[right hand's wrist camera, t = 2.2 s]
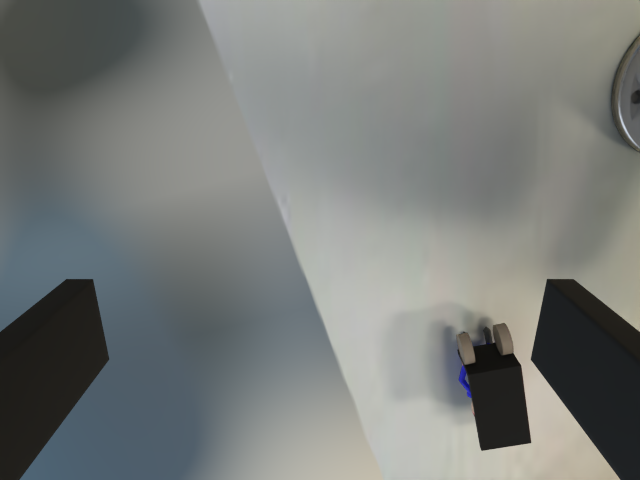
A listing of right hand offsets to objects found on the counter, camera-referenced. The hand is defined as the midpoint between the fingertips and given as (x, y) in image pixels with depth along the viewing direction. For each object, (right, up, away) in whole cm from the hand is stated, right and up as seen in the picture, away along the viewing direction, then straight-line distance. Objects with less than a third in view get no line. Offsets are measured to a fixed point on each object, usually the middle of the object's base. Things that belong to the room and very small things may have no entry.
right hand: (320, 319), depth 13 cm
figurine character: (+21, -14, +44) cm, 51 cm away
